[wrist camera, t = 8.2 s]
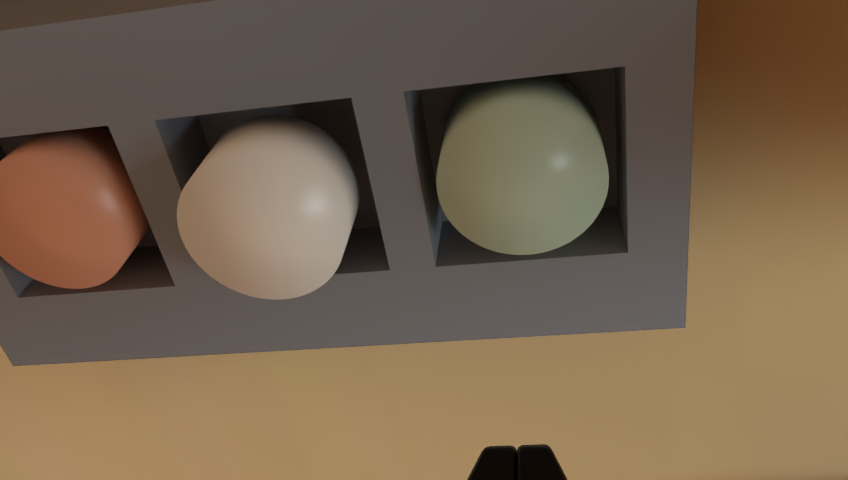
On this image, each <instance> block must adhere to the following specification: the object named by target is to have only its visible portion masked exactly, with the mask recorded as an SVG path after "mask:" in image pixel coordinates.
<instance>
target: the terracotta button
mask: <svg viewBox="0 0 848 480" xmlns="http://www.w3.org/2000/svg"><path fill="white" fill-rule="evenodd" d="M150 228H151V227H150V225H149V222H148V220H147V218H146V215H145V213H144V211H143V208H142V206H141V203H140V201H139V199H138V196H137V194H136V191H135V189H134V187H133V184H132V182H131V180H130V177H129V175H128V172H127V170H126V168H125V165H124V163H123V160H122V158H121V156H120V153H119V151H118V149H117V146H116V144H115V141H114V139H113V137H112V134H111V132H109V131H107V130H105V129H103V128H100V127H91V128H82V129H73V130H65V131H56V132H47V133H39V134H33V135H31V136H30V137H29V138H28V139H27V140H25V141H24V142H23V143H22V144H20V145H19V146H18V147H17V148H16V149H14V150H13V151H12V152H11V153H10V154H8V155H7V156H6V157H5V158H3V159H2V160H1V161H0V256H1V257H2V258H3V259H4V260H6V261H7V262H8V263H9V264H10V265H12V266H13V267H14V268H16V269H17V270H19V271H20V272H22V273H24V274H25V275H27V276H29V277H31V278H33V279H35V280H38V281H40V282H43V283H45V284H49V285H52V286H56V287H61V288H69V289H83V288H90V287H94V286H98V285H100V284H102V283H105V282H106V281H108V280H109V279H111V278H112V277H113V276H114V275H115V274H116V273H117V272H118V271H119V269H120V268H121V267H122V265H123V264H124V263H125V261H126V260H127V259H128V257H129V256H130V255H131V253H132V252H133V251H134V249H135V248H136V247H137V245H138V244H139V242H140V241H141V240H142V238H143V237H144V236H145V234H146V233H147V232H148V230H149V229H150Z"/></svg>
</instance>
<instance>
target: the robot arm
mask: <svg viewBox="0 0 848 480" xmlns="http://www.w3.org/2000/svg"><path fill="white" fill-rule="evenodd" d="M467 480H567V478H566V476H565V474H564V472H563V470H562V468H561V466H560V464H559V463H558V461H557V459H556V457H555V455H554V453H553V451H552V449H551V448H550V447H549V446H548V445H544V444H542V445H522V446H520V447H518V449H517V450H516V448H515V447H513V446H489V447H486V448H485V449H484V450H483V451H482V452H481V454H480V456H479V458H478V460H477V462H476V464H475V466H474V468H473V469H472V471H471V473H470V475H469V477H468V479H467Z"/></svg>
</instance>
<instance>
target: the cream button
mask: <svg viewBox="0 0 848 480" xmlns="http://www.w3.org/2000/svg"><path fill="white" fill-rule="evenodd" d="M360 197H361V190H360V182H359V177H358V174H357V170H356V168H355V166H354V164H353V162H352V160H351V158H350V157H349V155H348V153H347V152H346V151H345V150H344V148H343V147H342V146H341V145H340V144H339V143H338V142H337V141H336V140H335V139H334V138H333V137H332V136H331V135H329V134H328V133H327V132H325V131H324V130H322V129H321V128H319V127H317V126H316V125H314V124H311V123H309V122H307V121H305V120H302V119H299V118H295V117H291V116H286V115H275V114H272V115H260V116H255V117H251V118H248V119H245V120H243V121H241V122H239V123H237V124H235V125H233V126H232V127H231V128H229V129H228V130H227V131H226V132H225V133H224V134H223V135H222V136H221V137H220V138H219V140H218V141H217V142H216V144H215V145H214V147H213V148H212V149H211V151H210V152H209V153H208V155H207V156H206V157H205V159H204V160H203V162H202V163H201V164H200V166H199V167H198V168H197V170H196V171H195V172H194V174H193V175H192V177H191V178H190V179H189V181H188V182H187V183H186V185H185V186H184V188H183V190H182V192H181V194H180V198H179V201H178V206H177V224H178V230H179V233H180V236H181V239H182V241H183V243H184V245H185V247H186V249H187V251H188V252H189V254H190V256H191V257H192V258H193V259H194V261H195V262H196V263H197V264H198V265H199V266H200V267H201V268H202V269H203V270H204V271H205V272H206V273H207V274H208V275H209V276H211V277H212V278H213V279H215V280H216V281H218V282H219V283H221V284H222V285H224V286H226V287H228V288H230V289H232V290H234V291H236V292H239V293H241V294H245V295H248V296H251V297H256V298H261V299H271V300H282V299H290V298H296V297H300V296H303V295H306V294H308V293H311V292H313V291H314V290H316V289H318V288H320V287H321V286H322V285H324V284H325V283H326V282H327V281H328V280H329V279H330V278H331V277H332V276H333V274H334V273H335V272H336V270H337V269H338V267H339V265H340V263H341V260H342V257H343V254H344V251H345V248H346V245H347V242H348V239H349V236H350V233H351V229H352V226H353V223H354V220H355V217H356V214H357V211H358V208H359V204H360Z"/></svg>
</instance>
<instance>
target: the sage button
mask: <svg viewBox="0 0 848 480" xmlns="http://www.w3.org/2000/svg"><path fill="white" fill-rule="evenodd" d="M436 186H437V194H438V198H439V202H440V204H441V207H442V209H443V211H444V213H445V215H446V216H447V218H448V220H449V221H450V222H451V224H452V225H453V226H454V227H455V228H456V229H457V230H458V231H459V232H460V233H461V234H462V235H463V236H465V237H466V238H467V239H469V240H470V241H472V242H474V243H475V244H477V245H479V246H481V247H484V248H486V249H489V250H492V251H495V252H499V253H504V254H512V255H531V254H539V253H543V252H547V251H551V250H553V249H556V248H559V247H561V246H563V245H565V244H567V243H569V242H571V241H572V240H574V239H575V238H577V237H578V236H579V235H581V234H582V233H583V232H584V231H585V230H586V229H587V228H588V227H589V226H590V225H591V224H592V223H593V222H594V220H595V219H596V218H597V216H598V215H599V213H600V211H601V209H602V207H603V205H604V202H605V199H606V197H607V192H608V187H609V172H608V165H607V161H606V156H605V152H604V147H603V143H602V138H601V134H600V129H599V125H598V121H597V117H596V115H595V112H594V110H593V108H592V106H591V104H590V103H589V101H588V100H587V98H586V97H585V96H584V95H583V93H582V92H581V91H580V90H579V89H577V88H576V87H575V86H574V85H573V84H571V83H570V82H568V81H567V80H565V79H564V78H562V77H560V76H558V75H555V74H554V75H545V76H537V77H528V78H519V79H510V80H502V81H493V82H484V83H475V84H473V85H472V86H470V87H469V88H468V89H467V90H466V91H465V92H464V93H463V94H462V95H461V96H460V97H459V98H458V100H457V101H456V102H455V104H454V105H453V107H452V109H451V111H450V113H449V115H448V118H447V121H446V124H445V129H444V134H443V140H442V145H441V151H440V157H439V163H438V168H437V177H436Z"/></svg>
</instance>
